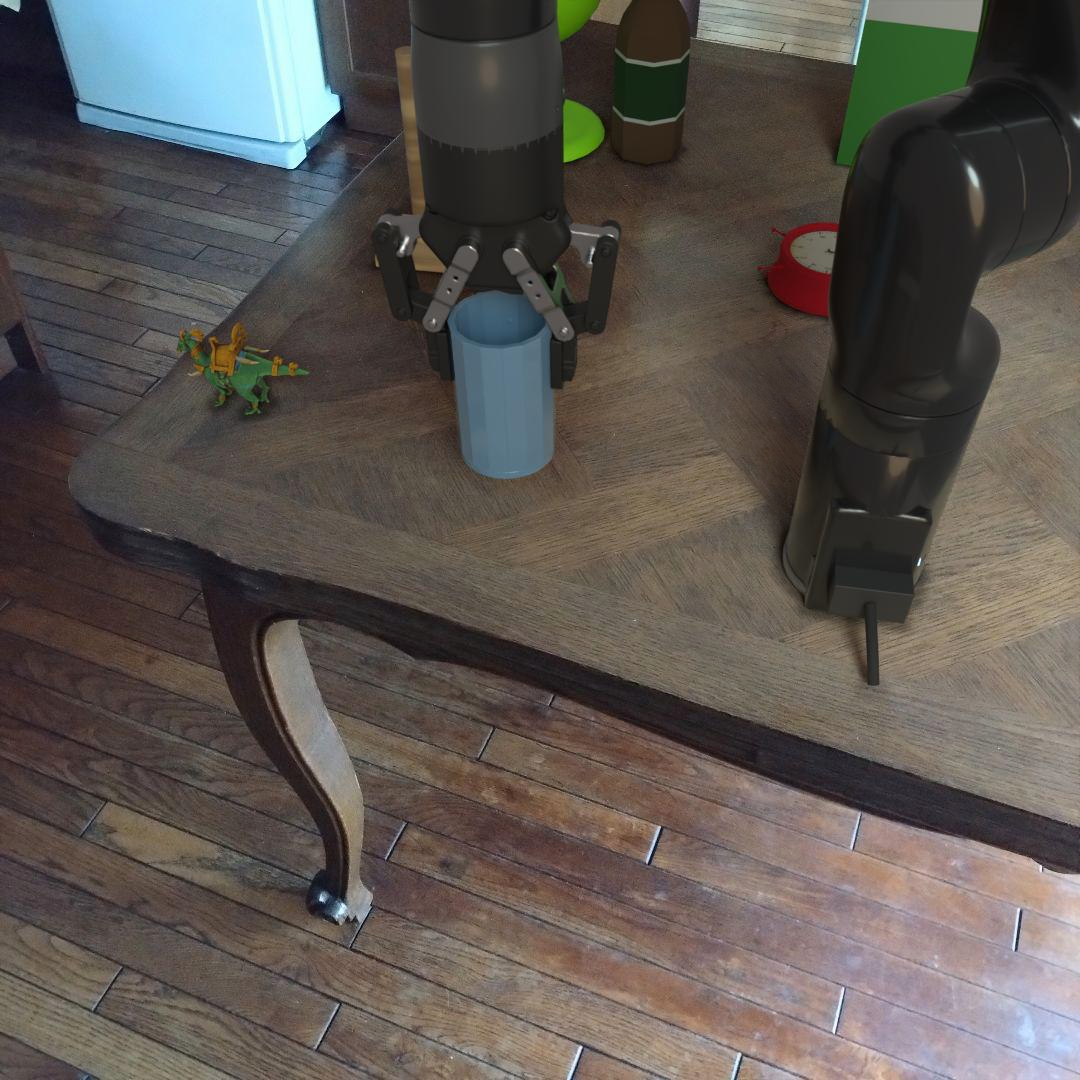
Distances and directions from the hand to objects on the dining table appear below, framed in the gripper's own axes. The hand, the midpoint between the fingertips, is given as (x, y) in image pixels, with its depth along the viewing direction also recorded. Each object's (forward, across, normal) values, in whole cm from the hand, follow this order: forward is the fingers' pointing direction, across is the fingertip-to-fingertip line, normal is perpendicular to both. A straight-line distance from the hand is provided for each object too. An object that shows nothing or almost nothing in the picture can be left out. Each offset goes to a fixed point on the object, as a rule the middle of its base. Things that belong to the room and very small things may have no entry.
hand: (504, 376), depth 65 cm
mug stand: (+14, -11, +38) cm, 42 cm away
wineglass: (+14, -8, +64) cm, 66 cm away
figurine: (+15, -24, +13) cm, 31 cm away
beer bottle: (+14, +4, +62) cm, 64 cm away
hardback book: (+15, +34, +63) cm, 73 cm away
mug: (+6, 0, +2) cm, 6 cm away
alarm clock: (+15, +25, +36) cm, 46 cm away
